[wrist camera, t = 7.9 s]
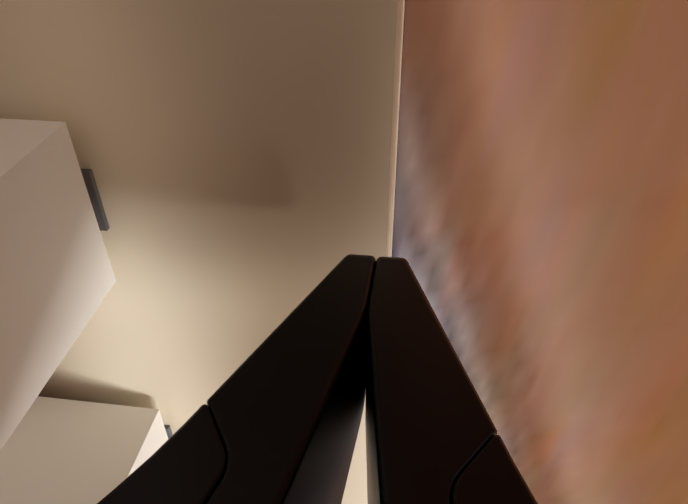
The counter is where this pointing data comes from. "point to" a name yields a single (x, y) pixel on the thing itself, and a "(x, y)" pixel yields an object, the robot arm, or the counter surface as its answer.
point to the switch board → (211, 173)
